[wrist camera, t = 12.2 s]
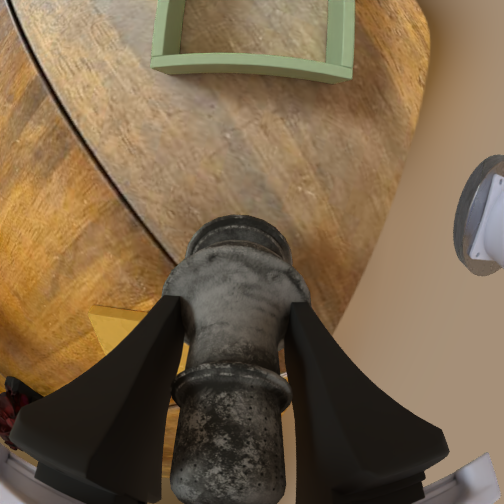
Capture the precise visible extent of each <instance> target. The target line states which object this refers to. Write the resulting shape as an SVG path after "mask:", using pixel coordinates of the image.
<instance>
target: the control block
mask: <svg viewBox="0 0 504 504" xmlns="http://www.w3.org/2000/svg"><path fill="white" fill-rule="evenodd" d="M147 314H148V312H141V311H133V310H125V309H118V308H111V307H104V306H97V305H93V306H92V307H91V309H90V310H89V312H88V316H89V318H90V321H91V323H92V326H93V328H94V331H95V333H96V336H97V338H98V340H99V342H100V345H101V347H102V349H103V351H104V353H105V356H106V355H107V354H108V353H109V352H111V351H112V350H113V349H114V348H115V347H116V346H117V345H118V344H119V343H120V342H121V341H122V340H123V339H124V338H125V337H126V336H127V335H128V334H129V333H130V332H131V331H132V330H133V329H134V328H135V327H136V326H137V325H138V323H139V322H140V321H141V320H142V319H143V318H144V317H145V316H146V315H147ZM188 350H189V345H187V344H186V343H184V344H183V351H182V357H181V361H180V365H179V368H178V372H177V374H179V373H180V372H182V371H184V370H185V365H186V360H187V355H188Z"/></svg>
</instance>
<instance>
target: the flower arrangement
mask: <svg viewBox="0 0 504 504" xmlns="http://www.w3.org/2000/svg"><path fill="white" fill-rule="evenodd" d="M4 385H5V389H6V390H7V391H6V392H3V393H1V394H0V436H1V437H2V439H3V440H5V443H6V444H7V445H9V446H10V448H12V449H13V450H17V449H19V450H21V449H20V448H19V447H17V446H16V445H15V444H14V443H12V442H11V441H10V439H9V435H10V432H11V430H12V427H13V425H14V422H15V420H16V418H17V415H18V413H19V411H20V409H21V407H23V406H25V405H28V404H30V403H32V402H35V401H37V400H39V399H41V398H43V397H42V396H41V395H39V394H38V393H36V392H35V391H33V390H32V389H31V388H29V387H28V386H26V385H25V384H24V383H23V382H21V381H20V380H18V379H16V378H14V377H8V376H7V377H6V381H5V384H4ZM21 451H23V450H21Z"/></svg>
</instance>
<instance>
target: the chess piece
mask: <svg viewBox="0 0 504 504" xmlns="http://www.w3.org/2000/svg"><path fill="white" fill-rule="evenodd" d="M292 263H293V262H292V255H291V249H290V247H289V245H288V243H287V241H286V239H285V237H284V236H283V235H282V234H281V233H280V232H279V231H278V230H277V229H276V228H275V227H274V226H272V225H271V224H269V223H267V222H266V221H264V220H262V219H259V218H256V217H252V216H249V215H228V216H223V217H218V218H216V219H214V220H212V221H210V222H208V223H206V224H204V225H203V226H202V227H201V228H200V229H199V230H198V231H197V232H196V233H195V234H194V235H193V237H192V239H191V240H190V242H189V244H188V247H187V251H186V255H185V259H184V260H183V261H182V262H181V263H179V264H178V265H177V266H176V267H175V268H174V269H173V270H172V271H171V273H170V275H169V276H168V278H167V280H166V282H165V283H164V285H163V291H162V297H163V296H164V295H172V296H180V302H181V317H182V324H183V328H184V332H185V337H184V343H186V344H187V345H189V350H188V355H187V360H186V365H185V370H184V371H182V372H180V373H179V374H177V376H176V377H175V378H174V379H173V380H172V383H171V388H170V393H171V396H172V399H173V400H174V401H175V402H176V404H177V405H178V406H179V407H180V413H179V419H178V426H177V432H176V438H175V445H174V452H173V459H172V466H171V473H170V484H171V489H172V491H173V492H174V494H175V495H176V497H177V498H178V499H179V500H180V501H181V502H182V503H184V504H277V503H278V502H279V500H280V499H281V498H282V497H283V496H284V492H285V487H286V478H285V463H284V448H283V435H282V422H281V413H282V412H283V411H284V410H285V409H286V408H287V407H288V406H289V405H290V403H291V401H292V398H293V394H292V388H291V386H290V385H289V383H288V382H287V381H286V379H284V378H283V377H281V376H280V368H279V358H278V351H280V350H281V349H283V348H284V337H285V334H286V331H287V327H288V323H289V317H290V310H291V303H292V302H308V303H309V305H310V306H311V298H310V292H309V289H308V287H307V285H306V283H305V281H304V279H303V277H302V276H301V275H300V274H299V273H298V271H297V270H296V269H295V268H294V267H293V266H292Z"/></svg>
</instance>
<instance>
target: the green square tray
mask: <svg viewBox="0 0 504 504" xmlns="http://www.w3.org/2000/svg"><path fill="white" fill-rule="evenodd" d="M185 1H186V0H158V4H157V11H156V17H155V25H154V33H153V42H152V52H151V57H152V58H151V65H150V68H152V69H154V70H157V71H160V72H163V73H165V74H168V75H173V74H191V73H241V74H259V75H271V76H281V77H290V78H298V79H305V80H311V81H317V82H323V83H329V84H337V83H340V82H344V81H348V80H352V75H353V69H352V68H353V60H354V39H355V0H328V28H327V47H326V63H324V62H318V61H313V60H306V59H300V58H293V57H285V56H275V55H264V54H249V53H192V54H179V53H180V43H181V33H182V24H183V16H184V8H185Z"/></svg>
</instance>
